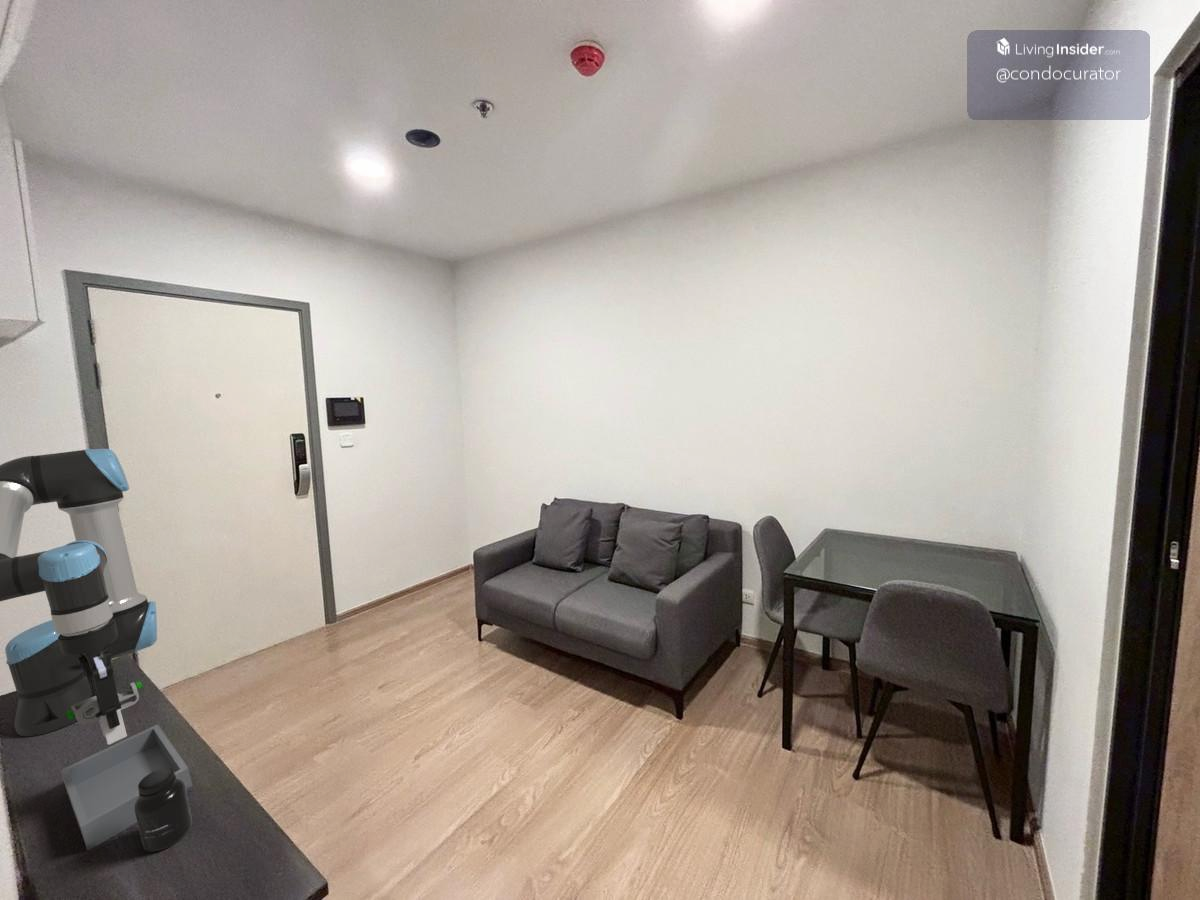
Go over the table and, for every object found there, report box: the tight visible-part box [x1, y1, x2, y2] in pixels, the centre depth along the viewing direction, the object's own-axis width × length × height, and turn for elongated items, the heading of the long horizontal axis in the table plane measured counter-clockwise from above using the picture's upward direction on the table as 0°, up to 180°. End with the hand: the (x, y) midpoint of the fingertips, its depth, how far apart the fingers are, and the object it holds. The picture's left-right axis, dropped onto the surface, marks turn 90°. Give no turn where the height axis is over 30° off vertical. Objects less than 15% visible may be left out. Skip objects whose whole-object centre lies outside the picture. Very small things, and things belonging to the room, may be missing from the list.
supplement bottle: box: [134, 767, 193, 853], centre depth 88 cm, size 7×7×12 cm
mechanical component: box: [66, 680, 143, 744], centre depth 96 cm, size 3×10×10 cm, turn 145°
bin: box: [60, 723, 194, 852], centre depth 98 cm, size 22×15×5 cm
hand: (115, 735), depth 97 cm, fingers closed on mechanical component, 3 cm apart
